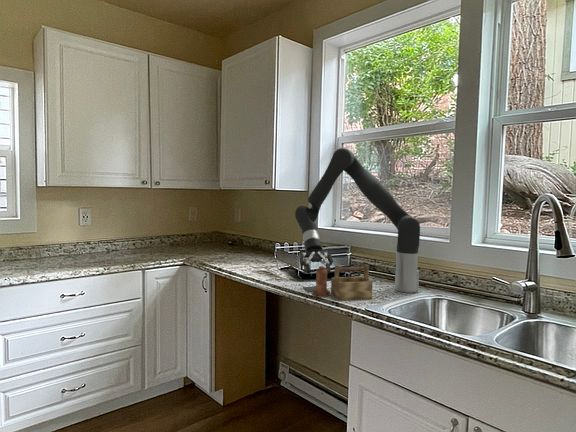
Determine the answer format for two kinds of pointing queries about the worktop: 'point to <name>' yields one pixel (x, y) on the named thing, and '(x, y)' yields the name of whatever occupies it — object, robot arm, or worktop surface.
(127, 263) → the worktop surface
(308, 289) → the pad
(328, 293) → the keeper
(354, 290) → the toolbox
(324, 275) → the reddish brown cylinder
